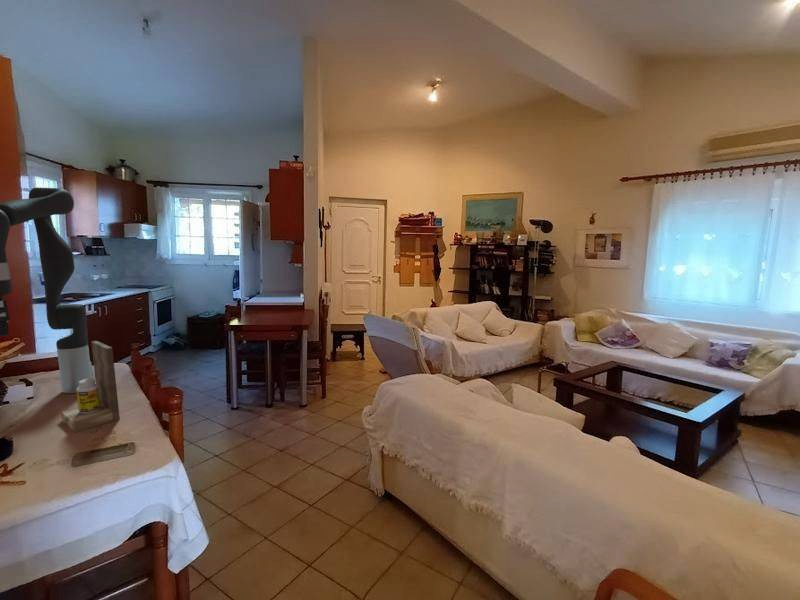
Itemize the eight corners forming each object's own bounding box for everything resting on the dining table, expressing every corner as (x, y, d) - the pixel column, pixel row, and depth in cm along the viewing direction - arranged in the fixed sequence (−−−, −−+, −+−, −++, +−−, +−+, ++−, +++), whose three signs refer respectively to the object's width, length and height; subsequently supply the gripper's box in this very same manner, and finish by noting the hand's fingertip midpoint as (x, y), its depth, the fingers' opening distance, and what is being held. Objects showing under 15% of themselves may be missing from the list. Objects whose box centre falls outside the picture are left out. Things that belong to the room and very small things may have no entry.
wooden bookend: (61, 420, 129) (52, 348, 125) (104, 408, 138) (96, 340, 134) (75, 433, 120) (66, 356, 117) (119, 419, 129) (112, 347, 126)
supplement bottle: (77, 416, 125) (73, 384, 123) (80, 409, 129) (76, 379, 128) (99, 412, 128) (96, 381, 126) (101, 405, 132) (98, 376, 131)
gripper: (16, 279, 114) (23, 334, 117) (5, 276, 123) (12, 327, 125) (-22, 281, 109) (-13, 339, 111) (-31, 277, 117) (-22, 331, 119)
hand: (0, 333), depth 118 cm, fingers open, 8 cm apart
